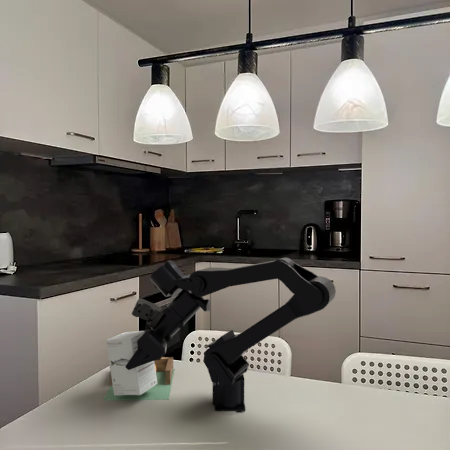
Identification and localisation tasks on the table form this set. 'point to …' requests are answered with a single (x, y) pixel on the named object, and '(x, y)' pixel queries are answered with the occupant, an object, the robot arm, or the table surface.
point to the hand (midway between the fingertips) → (130, 360)
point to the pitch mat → (154, 393)
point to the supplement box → (119, 357)
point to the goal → (161, 369)
